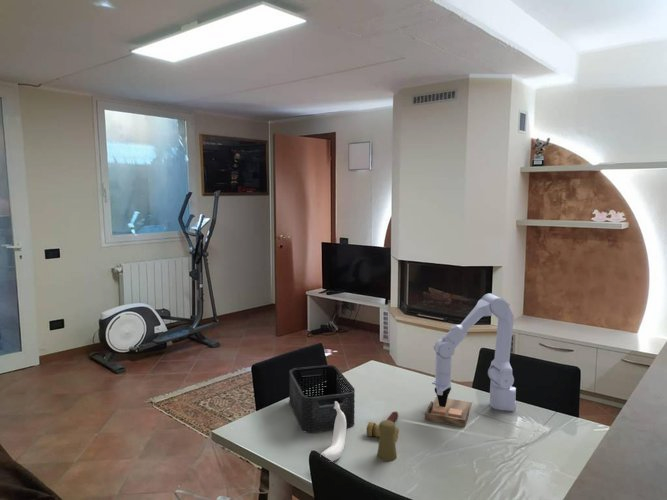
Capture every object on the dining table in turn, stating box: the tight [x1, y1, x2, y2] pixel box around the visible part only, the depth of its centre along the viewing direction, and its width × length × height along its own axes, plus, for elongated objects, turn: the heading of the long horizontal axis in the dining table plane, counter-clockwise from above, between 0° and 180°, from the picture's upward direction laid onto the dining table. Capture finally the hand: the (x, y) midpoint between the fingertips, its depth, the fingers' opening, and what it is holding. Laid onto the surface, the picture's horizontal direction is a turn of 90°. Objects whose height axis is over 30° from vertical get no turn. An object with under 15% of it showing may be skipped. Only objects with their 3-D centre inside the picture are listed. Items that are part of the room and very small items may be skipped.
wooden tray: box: [424, 396, 473, 428], centre depth 174 cm, size 14×22×3 cm, turn 157°
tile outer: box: [432, 406, 447, 416], centre depth 170 cm, size 4×4×2 cm
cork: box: [376, 419, 398, 462], centre depth 144 cm, size 6×6×11 cm
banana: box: [320, 401, 347, 462], centre depth 144 cm, size 5×19×15 cm, turn 167°
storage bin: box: [288, 364, 356, 434], centre depth 174 cm, size 29×19×13 cm
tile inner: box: [448, 408, 463, 418], centre depth 168 cm, size 4×4×2 cm
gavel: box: [366, 411, 400, 443], centre depth 164 cm, size 21×5×10 cm
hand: (442, 406), depth 176 cm, fingers closed
